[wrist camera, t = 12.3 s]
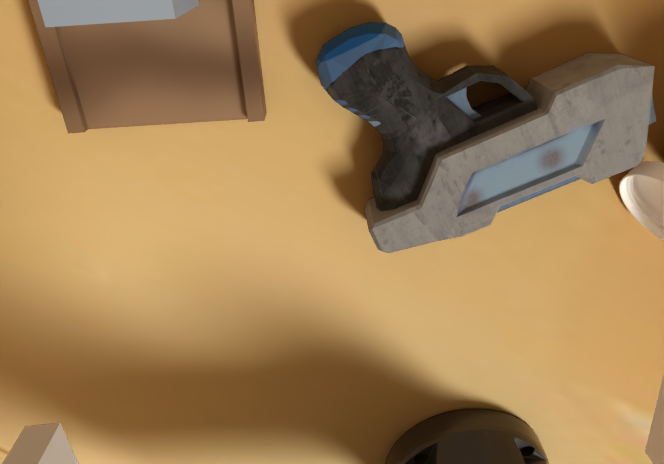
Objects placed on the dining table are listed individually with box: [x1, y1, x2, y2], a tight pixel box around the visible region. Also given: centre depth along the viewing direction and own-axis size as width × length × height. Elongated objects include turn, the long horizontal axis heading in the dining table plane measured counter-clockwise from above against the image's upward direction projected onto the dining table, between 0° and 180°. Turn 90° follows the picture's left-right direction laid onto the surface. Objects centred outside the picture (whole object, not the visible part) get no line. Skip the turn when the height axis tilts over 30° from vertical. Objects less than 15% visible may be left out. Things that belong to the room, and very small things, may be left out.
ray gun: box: [316, 22, 656, 253], centre depth 33 cm, size 4×19×15 cm
